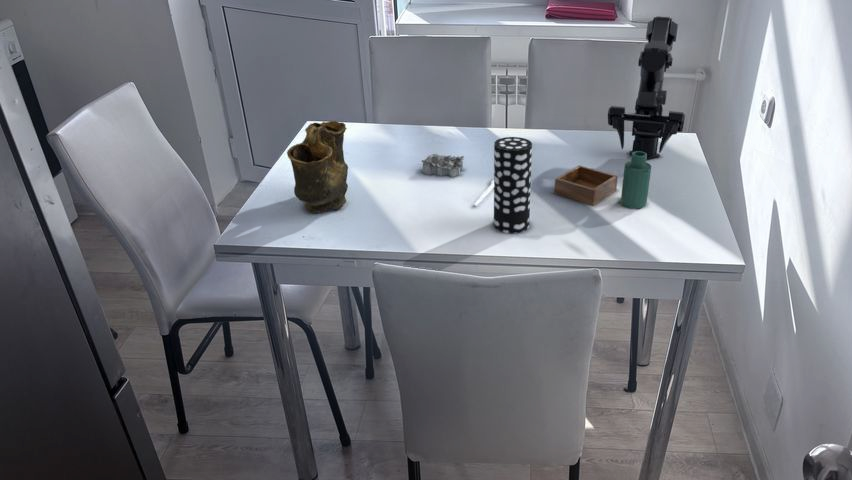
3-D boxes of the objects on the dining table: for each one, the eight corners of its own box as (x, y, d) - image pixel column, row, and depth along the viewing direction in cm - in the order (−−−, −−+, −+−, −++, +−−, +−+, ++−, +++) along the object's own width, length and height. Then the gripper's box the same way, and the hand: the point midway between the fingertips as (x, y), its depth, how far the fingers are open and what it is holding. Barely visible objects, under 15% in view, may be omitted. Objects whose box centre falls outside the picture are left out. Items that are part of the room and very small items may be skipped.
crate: (578, 179, 187) (579, 165, 185) (616, 190, 181) (617, 175, 179) (554, 193, 179) (555, 178, 177) (593, 205, 173) (594, 190, 171)
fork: (468, 206, 172) (468, 199, 171) (497, 176, 188) (497, 170, 187) (481, 208, 171) (481, 201, 170) (508, 178, 187) (508, 172, 186)
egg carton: (420, 174, 189) (419, 160, 187) (429, 164, 195) (428, 150, 193) (458, 178, 187) (457, 163, 184) (465, 168, 193) (465, 153, 191)
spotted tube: (533, 220, 166) (536, 139, 155) (523, 235, 159) (525, 152, 149) (500, 215, 168) (501, 135, 158) (488, 230, 161) (488, 147, 151)
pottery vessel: (317, 182, 183) (307, 108, 173) (358, 183, 183) (351, 109, 173) (288, 225, 162) (275, 143, 152) (335, 227, 162) (325, 145, 151)
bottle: (635, 196, 178) (641, 147, 172) (651, 205, 174) (658, 156, 167) (615, 200, 176) (621, 151, 169) (630, 210, 171) (637, 160, 164)
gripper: (612, 73, 171) (602, 131, 167) (690, 79, 167) (682, 139, 164) (613, 96, 181) (603, 151, 178) (686, 102, 178) (678, 159, 174)
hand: (640, 150), depth 173 cm, fingers open, 9 cm apart
